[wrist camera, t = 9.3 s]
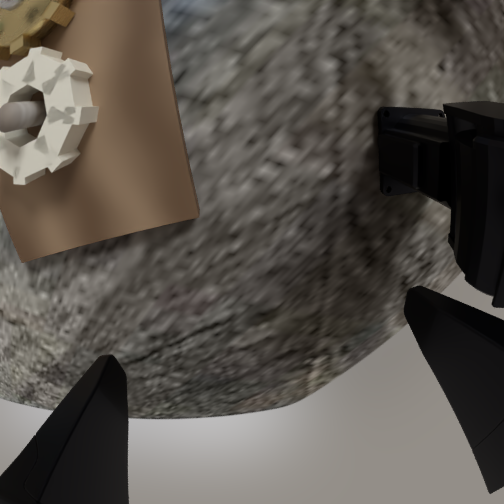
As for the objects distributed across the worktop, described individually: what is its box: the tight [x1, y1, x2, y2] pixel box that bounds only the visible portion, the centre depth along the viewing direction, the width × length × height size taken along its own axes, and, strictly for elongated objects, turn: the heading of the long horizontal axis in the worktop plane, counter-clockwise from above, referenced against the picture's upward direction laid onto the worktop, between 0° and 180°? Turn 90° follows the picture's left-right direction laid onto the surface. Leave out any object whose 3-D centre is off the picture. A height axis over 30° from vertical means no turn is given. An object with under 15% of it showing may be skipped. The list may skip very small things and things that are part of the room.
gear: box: [0, 0, 76, 61], centre depth 6 cm, size 8×8×4 cm
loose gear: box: [0, 47, 99, 185], centre depth 11 cm, size 7×7×2 cm
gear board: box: [0, 0, 200, 263], centre depth 10 cm, size 14×22×6 cm, turn 9°
